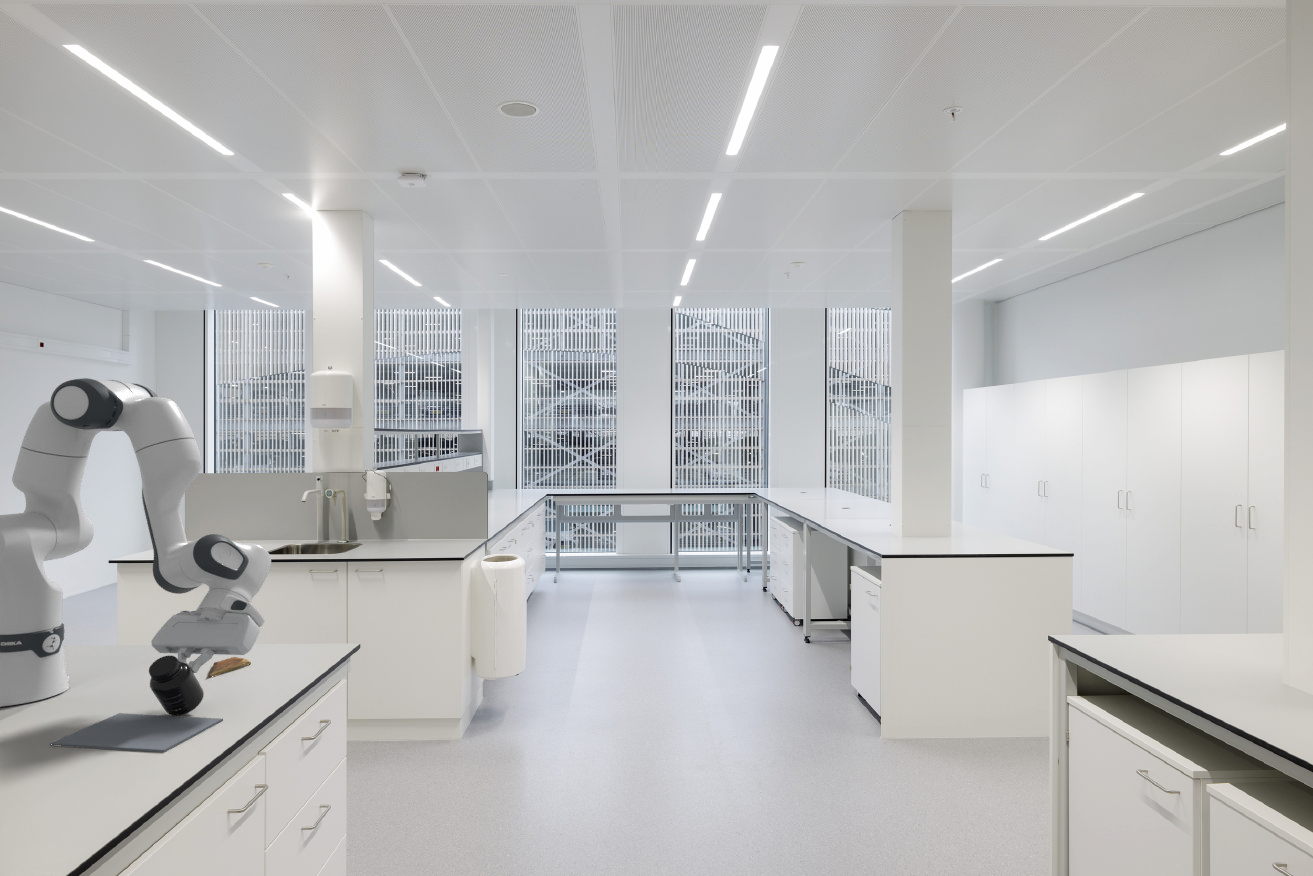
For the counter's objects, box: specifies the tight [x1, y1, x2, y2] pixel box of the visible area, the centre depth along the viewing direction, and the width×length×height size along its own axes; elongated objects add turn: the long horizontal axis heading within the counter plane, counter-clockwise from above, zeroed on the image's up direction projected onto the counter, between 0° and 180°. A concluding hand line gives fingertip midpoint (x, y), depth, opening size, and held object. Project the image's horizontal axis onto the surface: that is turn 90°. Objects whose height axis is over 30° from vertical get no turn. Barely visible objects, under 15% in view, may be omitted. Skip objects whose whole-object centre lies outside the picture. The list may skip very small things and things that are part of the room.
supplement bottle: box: [148, 654, 205, 716], centre depth 132 cm, size 7×7×12 cm
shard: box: [209, 656, 252, 678], centre depth 162 cm, size 11×8×2 cm
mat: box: [49, 712, 224, 753], centre depth 125 cm, size 22×14×1 cm, turn 85°
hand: (184, 671), depth 135 cm, fingers closed
